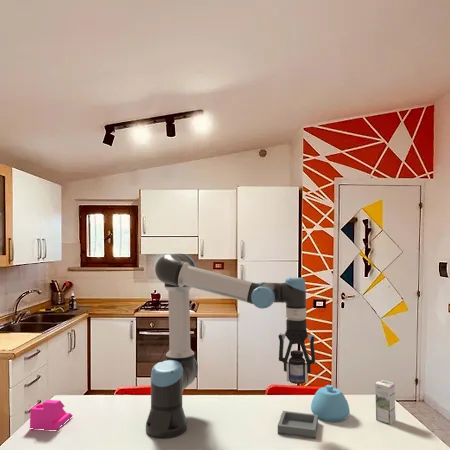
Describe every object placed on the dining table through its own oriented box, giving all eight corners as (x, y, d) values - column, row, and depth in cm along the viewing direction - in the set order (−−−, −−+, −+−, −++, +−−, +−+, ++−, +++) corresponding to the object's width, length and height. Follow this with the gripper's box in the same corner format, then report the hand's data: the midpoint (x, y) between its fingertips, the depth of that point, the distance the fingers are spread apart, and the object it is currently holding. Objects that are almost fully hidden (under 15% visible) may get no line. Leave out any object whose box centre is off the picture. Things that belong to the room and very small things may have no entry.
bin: (277, 433, 143) (277, 425, 143) (283, 418, 156) (282, 410, 156) (315, 438, 139) (315, 430, 139) (317, 422, 152) (317, 414, 152)
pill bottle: (294, 377, 153) (293, 348, 153) (308, 381, 149) (308, 351, 150) (286, 382, 148) (285, 352, 149) (300, 385, 144) (300, 354, 145)
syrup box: (396, 420, 154) (395, 382, 155) (390, 425, 150) (389, 386, 151) (381, 415, 158) (380, 378, 159) (375, 420, 154) (374, 382, 155)
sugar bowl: (335, 427, 149) (335, 395, 149) (303, 414, 160) (303, 385, 161) (356, 415, 159) (356, 386, 159) (325, 404, 170) (324, 377, 170)
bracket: (55, 431, 145) (56, 403, 145) (29, 430, 146) (30, 401, 147) (72, 418, 157) (73, 391, 157) (48, 416, 158) (49, 390, 159)
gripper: (269, 319, 149) (270, 382, 148) (321, 321, 144) (323, 386, 142) (273, 316, 156) (273, 375, 155) (322, 318, 151) (323, 380, 149)
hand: (297, 380), depth 149 cm, fingers closed on pill bottle, 6 cm apart
